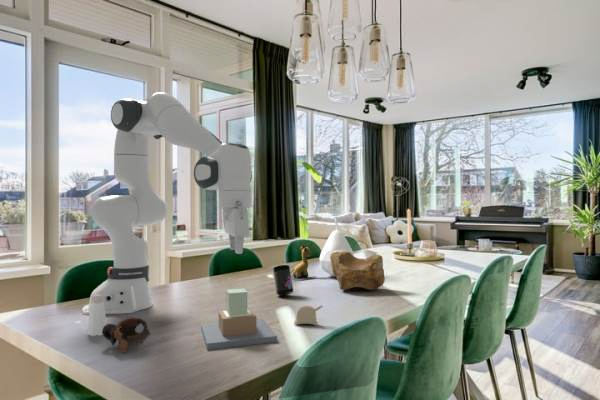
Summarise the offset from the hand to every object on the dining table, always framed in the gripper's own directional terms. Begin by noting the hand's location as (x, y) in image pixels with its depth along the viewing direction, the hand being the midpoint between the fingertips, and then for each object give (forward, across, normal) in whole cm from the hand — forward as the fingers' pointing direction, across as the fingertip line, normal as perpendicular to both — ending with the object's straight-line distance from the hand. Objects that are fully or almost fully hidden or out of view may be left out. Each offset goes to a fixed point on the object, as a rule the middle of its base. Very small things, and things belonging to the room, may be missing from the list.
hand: (236, 251), depth 119 cm
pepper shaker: (+23, +14, +37) cm, 46 cm away
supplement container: (+23, +43, -25) cm, 55 cm away
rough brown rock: (+23, +44, -55) cm, 74 cm away
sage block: (+17, 0, 0) cm, 17 cm away
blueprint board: (+23, 0, 0) cm, 23 cm away
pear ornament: (+23, +75, -62) cm, 100 cm away
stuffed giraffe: (+24, +78, -42) cm, 92 cm away
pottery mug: (+24, +1, +29) cm, 38 cm away
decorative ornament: (+23, +4, -18) cm, 30 cm away
